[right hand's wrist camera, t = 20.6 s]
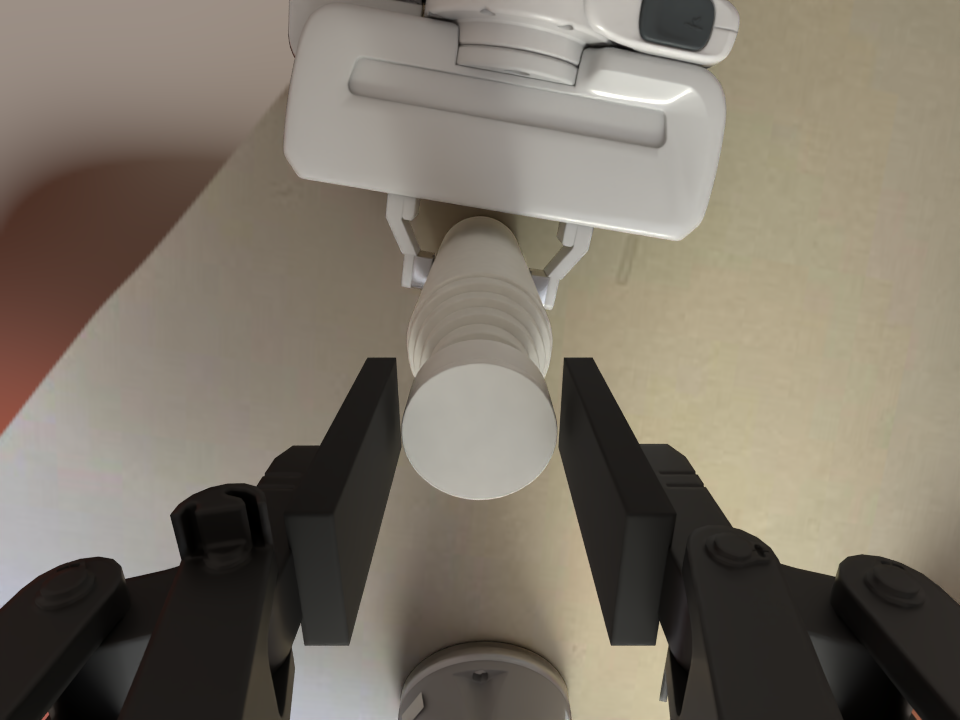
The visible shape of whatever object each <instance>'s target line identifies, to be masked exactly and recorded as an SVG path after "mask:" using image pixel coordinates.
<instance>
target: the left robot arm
mask: <svg viewBox="0 0 960 720" xmlns="http://www.w3.org/2000/svg"><path fill="white" fill-rule="evenodd" d="M424 4H425V10H424V8H423V5H424ZM423 13H424V17H423ZM739 22H740V17H739V13H738V11H737V9H736V8H735V7H734V5H732V4H731V3H730V2H729V1H728V0H289V29H288V37H289V44H290V48H291V51H292V53H293V55H294V57H295V60H294V65H293V70H292V75H291V80H290V87H289V93H288V100H287V108H286V116H285V127H284V141H283V151H284V155H285V157H286V159H287V160H288V162H289V164H290V165H291V167H292V168H293V170H294V171H295V173H296V174H297V176H299V177H300V178H303V179H307V180H313V181H319V182H325V183H331V184H337V185H343V186H349V187H355V188H361V189H367V190H373V191H379V192H385V193H388V197H387V207H386V219H387V221H388V223H389V226H390V228H391V230H392V232H393V235H394V237H395V239H396V241H397V244H398V246H399V248H400V251H401V253H402V254H404V262H403V271H402V280H401V286H402V287H406V288H414V289H421V290H422V289H423V287H424V284H425V282H426V279H427V277H428V274H429V272H430V270H431V267H432V265H433V262H434V259H435V253H432V252H427V251H422V250H421V249H420V247H419V244H418V242H417V239H416V237H415V234H414V232H413V229H412V227H411V224H410V222H409V220H413V219H414V218H415V217H416V216H417V215H418V212H419V204H420V198H421V199H427V200H433V201H439V202H445V203H451V204H457V205H463V206H469V207H475V208H481V209H487V210H493V211H499V212H505V213H511V214H517V215H523V216H529V217H535V218H541V219H547V220H553V221H559V228H558V233H557V238H558V240H559V241H560V242H561V243H562V244H563V247H562V248H561V249H560V250H559V251H558V253H557V254H556V255H555V256H554V257H553V259H552V260H551V261H550V262H549V263H548V265H547V266H546V267H545V268H544V270H539V269H532V268H529V271H530V274H531V276H532V279H533V281H534V284H535V286H536V289H537V291H538V294H539V296H540V299H541V301H542V303H543V306H544V308H545V309H547V310H552V308H553V306H554V302H555V297H556V293H557V288H558V284H559V279H563V278H564V276H565V275H566V274H567V273H568V272H569V271H570V270H571V269H572V268H573V267H574V266H575V264H576V263H577V262H578V261H579V260H580V259H581V258H582V257H583V256H584V255H585V253H586V252H587V251H588V249H589V245H590V241H591V237H592V233H593V229H594V227H595V228H601V229H607V230H613V231H619V232H625V233H631V234H637V235H643V236H649V237H655V238H661V239H667V240H673V241H680V240H682V239H683V238H685V237H686V236H687V235H688V234H689V233H691V232H692V231H693V230H694V229H695V228H696V227H698V226H699V225H700V223H701V222H702V220H703V218H704V215H705V212H706V209H707V206H708V203H709V199H710V196H711V192H712V188H713V184H714V180H715V176H716V172H717V168H718V163H719V158H720V153H721V148H722V142H723V136H724V130H725V123H726V100H725V94H724V91H723V88H722V86H721V84H720V82H719V81H718V79H717V78H716V77H715V75H714V74H712V73H711V72H710V71H709V70H707V69H708V68H710V67H712V66H714V65H716V64H717V63H719V62H721V61H722V60H723V59H725V58H726V57H727V56H728V54H729V53H730V51H731V49H732V47H733V44H734V42H735V39H736V36H737V32H738V29H739Z"/></svg>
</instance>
